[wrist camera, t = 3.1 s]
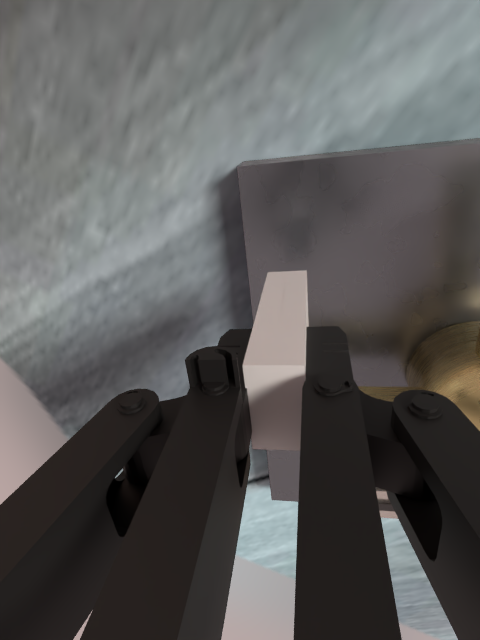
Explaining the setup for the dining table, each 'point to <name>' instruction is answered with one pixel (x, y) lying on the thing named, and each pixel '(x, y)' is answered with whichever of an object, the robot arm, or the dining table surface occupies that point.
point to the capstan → (444, 369)
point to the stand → (368, 253)
